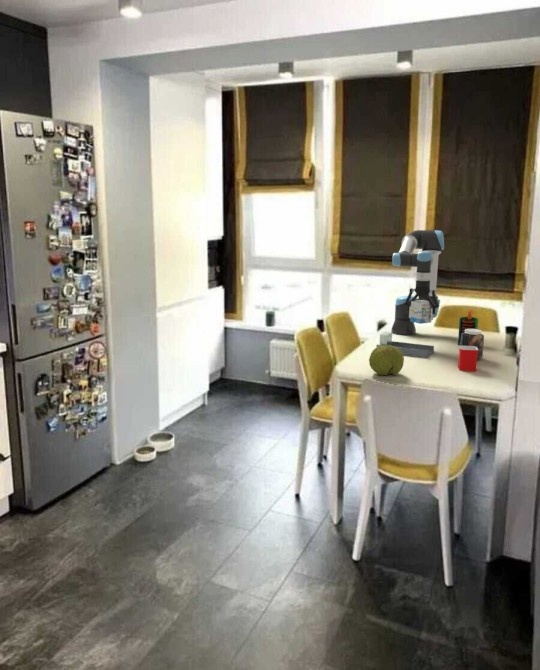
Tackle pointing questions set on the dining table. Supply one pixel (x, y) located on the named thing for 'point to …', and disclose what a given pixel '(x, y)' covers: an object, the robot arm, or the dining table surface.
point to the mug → (467, 358)
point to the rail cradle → (406, 346)
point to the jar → (473, 341)
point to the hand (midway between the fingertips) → (420, 318)
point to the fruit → (386, 360)
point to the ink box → (420, 311)
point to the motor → (467, 324)
